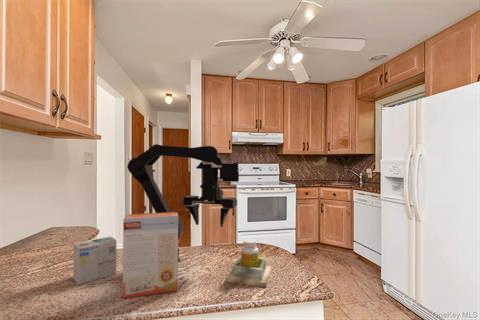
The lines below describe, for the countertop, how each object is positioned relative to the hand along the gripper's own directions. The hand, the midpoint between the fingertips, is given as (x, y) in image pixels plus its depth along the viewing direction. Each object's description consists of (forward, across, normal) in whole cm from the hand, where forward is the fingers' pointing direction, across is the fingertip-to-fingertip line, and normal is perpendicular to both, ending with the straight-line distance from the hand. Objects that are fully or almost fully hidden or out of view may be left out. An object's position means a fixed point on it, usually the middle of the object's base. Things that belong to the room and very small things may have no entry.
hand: (209, 225), depth 86 cm
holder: (+13, -16, +5) cm, 21 cm away
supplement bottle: (+12, -16, +5) cm, 21 cm away
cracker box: (+13, +8, +21) cm, 26 cm away
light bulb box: (+13, +30, +19) cm, 38 cm away
